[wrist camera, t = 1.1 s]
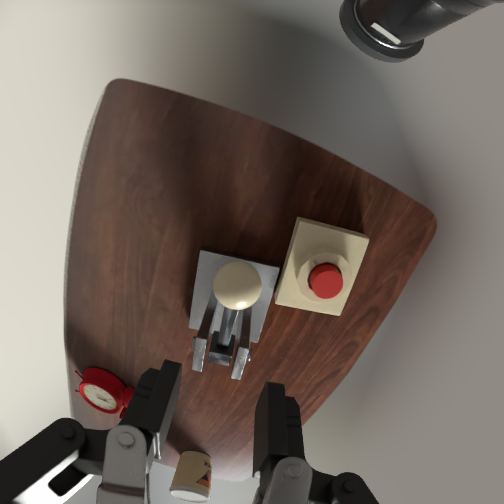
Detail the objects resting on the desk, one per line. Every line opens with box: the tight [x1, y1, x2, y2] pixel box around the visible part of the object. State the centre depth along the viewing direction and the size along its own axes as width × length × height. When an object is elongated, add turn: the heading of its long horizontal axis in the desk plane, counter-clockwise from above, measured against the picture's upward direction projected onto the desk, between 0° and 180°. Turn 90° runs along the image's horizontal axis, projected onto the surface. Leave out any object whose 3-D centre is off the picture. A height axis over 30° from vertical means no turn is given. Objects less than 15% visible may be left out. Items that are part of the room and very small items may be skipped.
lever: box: [208, 261, 262, 366], centre depth 24 cm, size 14×3×3 cm, turn 167°
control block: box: [275, 217, 369, 316], centre depth 34 cm, size 11×9×4 cm
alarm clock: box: [75, 368, 134, 419], centre depth 45 cm, size 10×6×15 cm
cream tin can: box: [169, 451, 212, 503], centre depth 49 cm, size 9×9×12 cm
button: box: [310, 264, 343, 299], centre depth 32 cm, size 4×4×2 cm
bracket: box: [189, 247, 280, 380], centre depth 32 cm, size 12×10×13 cm
